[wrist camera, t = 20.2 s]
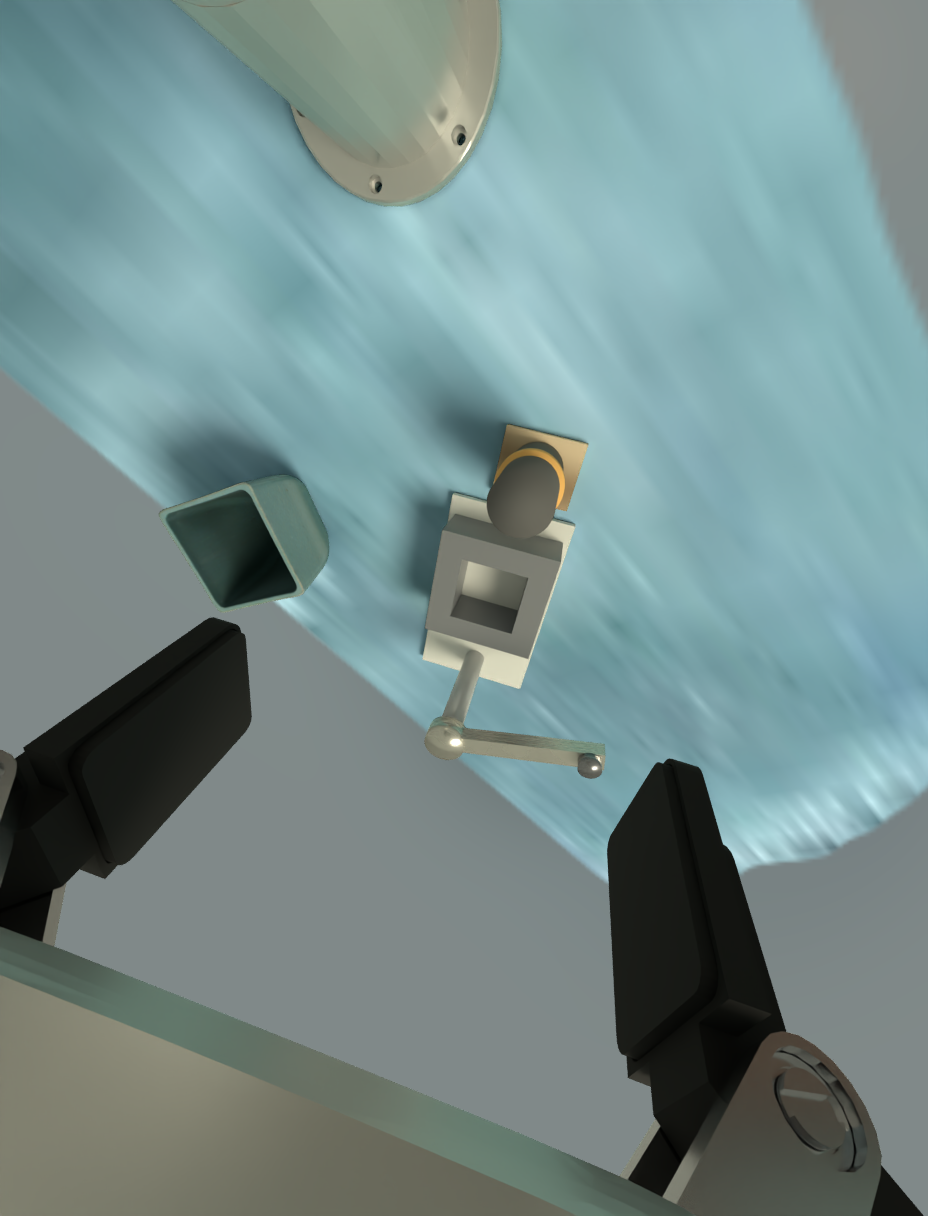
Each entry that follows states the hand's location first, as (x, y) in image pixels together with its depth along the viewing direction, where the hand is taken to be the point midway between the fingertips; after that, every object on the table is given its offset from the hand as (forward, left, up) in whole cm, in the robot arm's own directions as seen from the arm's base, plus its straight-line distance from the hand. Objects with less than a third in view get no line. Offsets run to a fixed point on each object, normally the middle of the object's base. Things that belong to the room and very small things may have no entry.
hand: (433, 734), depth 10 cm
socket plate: (+12, -1, -28) cm, 31 cm away
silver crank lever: (+17, +4, -18) cm, 25 cm away
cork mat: (0, 0, -28) cm, 28 cm away
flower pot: (+10, -20, -28) cm, 36 cm away
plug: (0, 0, -28) cm, 28 cm away
